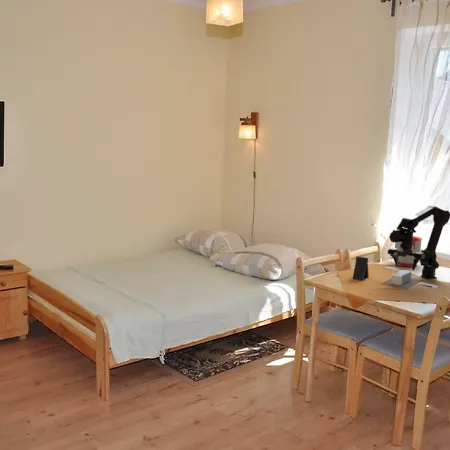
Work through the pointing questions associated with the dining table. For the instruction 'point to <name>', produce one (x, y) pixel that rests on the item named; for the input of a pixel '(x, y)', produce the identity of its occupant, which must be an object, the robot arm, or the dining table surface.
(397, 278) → the tall block
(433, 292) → the dining table surface
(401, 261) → the citrus juicer
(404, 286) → the rubber mat
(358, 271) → the black picture frame
